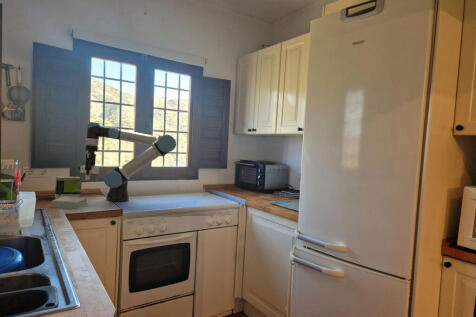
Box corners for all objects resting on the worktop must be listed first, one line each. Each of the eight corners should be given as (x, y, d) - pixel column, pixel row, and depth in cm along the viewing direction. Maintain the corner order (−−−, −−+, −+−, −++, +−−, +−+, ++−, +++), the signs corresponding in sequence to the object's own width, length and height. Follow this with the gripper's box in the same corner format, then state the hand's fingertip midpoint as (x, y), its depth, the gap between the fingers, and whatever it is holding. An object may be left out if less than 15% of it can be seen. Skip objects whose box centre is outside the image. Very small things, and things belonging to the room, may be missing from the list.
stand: (86, 204, 192) (86, 197, 192) (77, 208, 177) (77, 202, 177) (62, 202, 190) (63, 196, 190) (51, 207, 174) (51, 200, 174)
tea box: (78, 197, 214) (80, 176, 214) (80, 199, 205) (82, 178, 205) (54, 197, 205) (56, 175, 205) (54, 199, 197) (56, 177, 197)
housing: (98, 180, 207) (99, 166, 206) (95, 181, 201) (96, 166, 201) (79, 179, 205) (80, 164, 204) (76, 180, 199) (77, 165, 199)
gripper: (90, 144, 211) (87, 177, 212) (81, 144, 193) (78, 180, 193) (101, 145, 213) (99, 178, 213) (93, 145, 194) (90, 181, 194)
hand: (89, 179), depth 203 cm, fingers closed on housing, 6 cm apart
